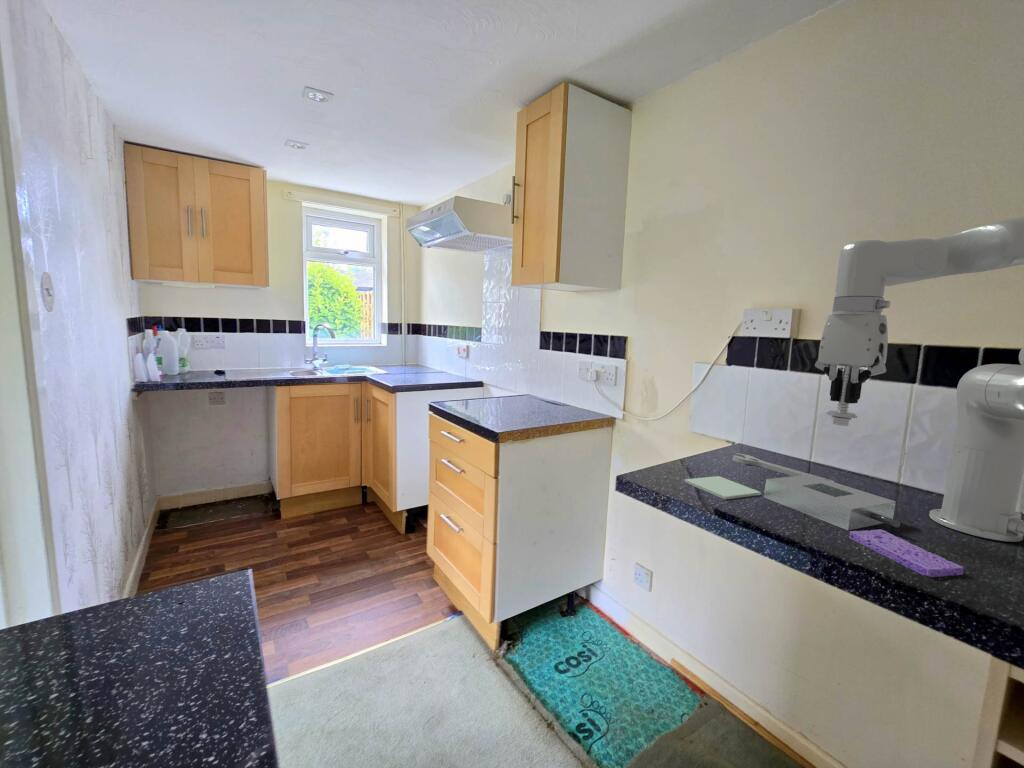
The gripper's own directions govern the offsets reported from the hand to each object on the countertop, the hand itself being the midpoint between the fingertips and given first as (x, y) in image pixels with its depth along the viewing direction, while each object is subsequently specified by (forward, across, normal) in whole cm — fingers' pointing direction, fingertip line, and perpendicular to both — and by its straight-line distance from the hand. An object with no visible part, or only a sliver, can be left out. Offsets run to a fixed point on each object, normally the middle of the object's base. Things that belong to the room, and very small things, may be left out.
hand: (843, 401), depth 88 cm
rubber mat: (+22, +15, +13) cm, 30 cm away
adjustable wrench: (+23, +22, -16) cm, 36 cm away
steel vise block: (+22, -2, +1) cm, 22 cm away
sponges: (+23, -17, +9) cm, 30 cm away
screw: (+5, 0, 0) cm, 5 cm away
